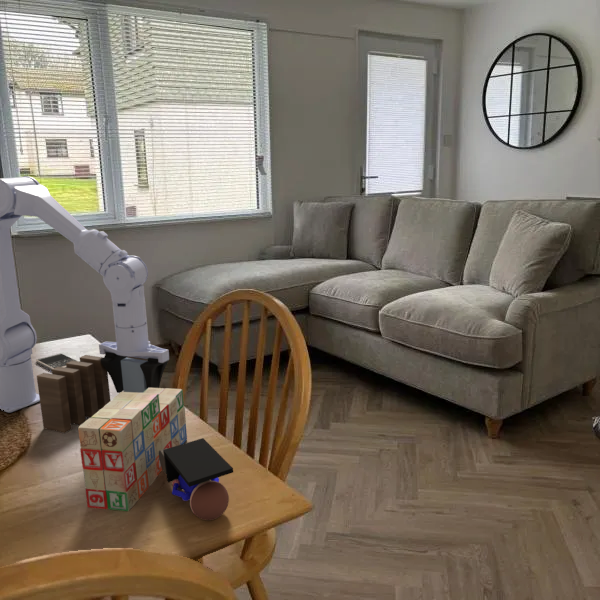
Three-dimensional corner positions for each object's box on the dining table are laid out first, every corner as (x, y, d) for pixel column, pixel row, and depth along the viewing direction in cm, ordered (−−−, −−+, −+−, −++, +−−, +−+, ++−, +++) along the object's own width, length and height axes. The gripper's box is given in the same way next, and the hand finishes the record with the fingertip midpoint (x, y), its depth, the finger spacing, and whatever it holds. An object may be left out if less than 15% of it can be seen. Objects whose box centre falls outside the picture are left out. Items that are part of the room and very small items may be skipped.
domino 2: (79, 425, 107) (72, 372, 105) (58, 420, 109) (51, 369, 107) (85, 421, 109) (79, 369, 106) (64, 417, 111) (58, 366, 108)
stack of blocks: (153, 437, 102) (147, 369, 99) (187, 440, 101) (182, 371, 98) (86, 508, 82) (76, 426, 79) (129, 513, 80) (120, 429, 78)
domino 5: (147, 414, 111) (142, 363, 109) (125, 410, 113) (120, 360, 111) (152, 410, 112) (147, 360, 110) (131, 407, 114) (126, 357, 112)
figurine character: (158, 490, 88) (193, 534, 75) (152, 441, 87) (186, 476, 74) (201, 477, 92) (242, 517, 78) (196, 430, 90) (236, 461, 77)
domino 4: (105, 410, 113) (100, 360, 111) (85, 406, 115) (79, 357, 113) (111, 407, 115) (106, 357, 112) (91, 403, 117) (85, 354, 114)
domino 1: (64, 433, 104) (58, 379, 102) (43, 428, 106) (36, 375, 104) (71, 429, 106) (65, 376, 103) (50, 424, 108) (43, 372, 105)
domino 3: (92, 417, 110) (86, 366, 108) (72, 413, 112) (66, 363, 110) (98, 414, 112) (93, 363, 109) (78, 410, 114) (72, 360, 111)
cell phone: (55, 375, 134) (54, 369, 133) (34, 364, 141) (34, 358, 141) (81, 368, 138) (80, 362, 138) (60, 357, 145) (59, 352, 145)
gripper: (176, 321, 109) (182, 391, 113) (114, 315, 115) (121, 381, 118) (152, 332, 103) (159, 405, 106) (88, 324, 109) (95, 394, 112)
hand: (137, 393), depth 112 cm, fingers open, 7 cm apart
